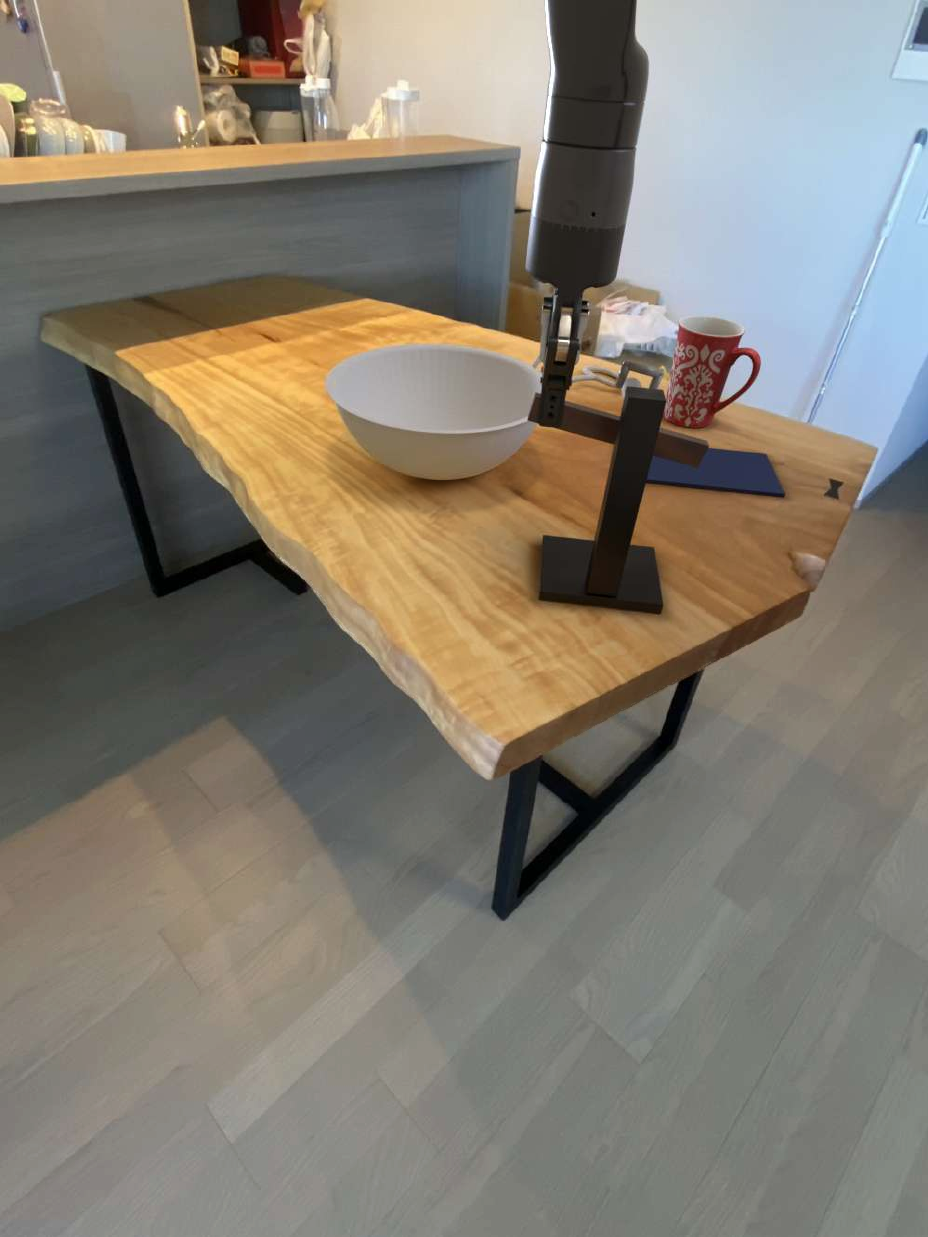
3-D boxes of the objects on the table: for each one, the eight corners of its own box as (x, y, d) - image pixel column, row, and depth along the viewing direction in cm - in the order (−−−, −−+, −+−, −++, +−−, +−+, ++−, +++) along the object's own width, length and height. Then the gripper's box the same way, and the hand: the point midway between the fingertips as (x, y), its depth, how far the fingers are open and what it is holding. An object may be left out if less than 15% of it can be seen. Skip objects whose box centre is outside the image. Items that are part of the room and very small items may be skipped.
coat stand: (651, 553, 75) (705, 360, 62) (660, 614, 67) (725, 408, 54) (541, 541, 76) (571, 347, 62) (538, 600, 68) (571, 392, 54)
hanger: (696, 462, 67) (734, 388, 62) (697, 468, 66) (736, 393, 61) (527, 415, 66) (552, 336, 61) (527, 420, 65) (552, 340, 60)
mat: (765, 456, 95) (766, 453, 94) (784, 497, 86) (785, 493, 86) (619, 441, 96) (620, 438, 96) (624, 480, 88) (624, 476, 87)
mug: (644, 415, 103) (666, 322, 94) (675, 400, 108) (699, 310, 99) (720, 446, 97) (751, 348, 88) (750, 428, 102) (782, 334, 93)
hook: (505, 386, 107) (596, 383, 118) (543, 408, 102) (635, 403, 112) (516, 337, 103) (609, 339, 114) (556, 358, 97) (650, 358, 108)
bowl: (378, 534, 75) (375, 450, 69) (303, 430, 93) (296, 356, 87) (584, 488, 85) (599, 411, 79) (481, 403, 103) (486, 334, 97)
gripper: (633, 235, 49) (590, 459, 60) (621, 201, 59) (587, 397, 70) (527, 226, 49) (504, 450, 60) (534, 193, 59) (513, 390, 70)
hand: (549, 421), depth 65 cm, fingers closed on hanger, 1 cm apart
